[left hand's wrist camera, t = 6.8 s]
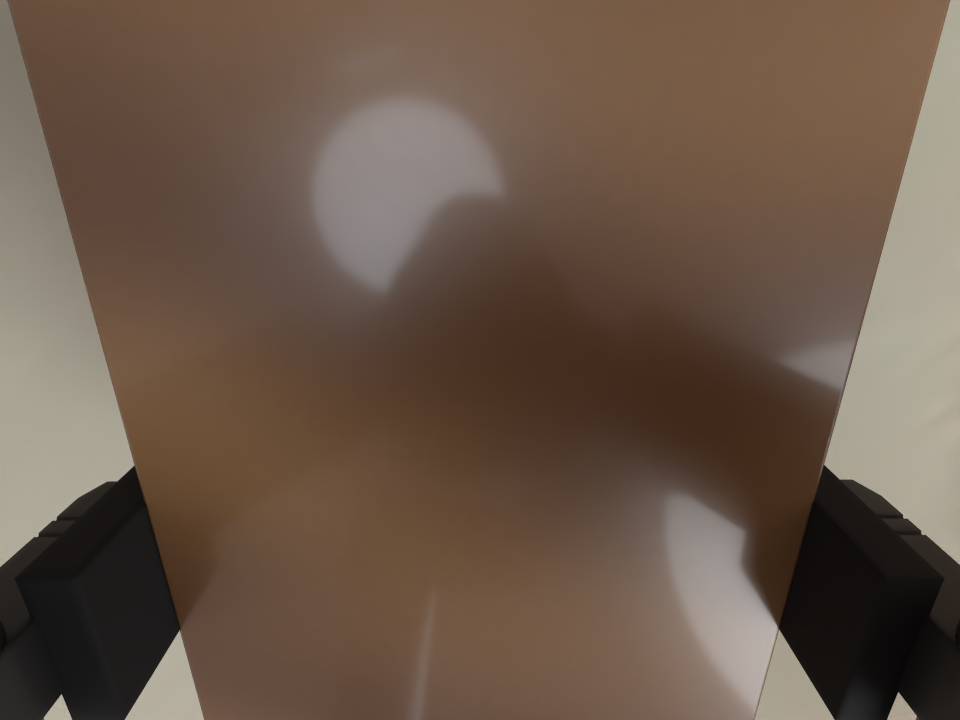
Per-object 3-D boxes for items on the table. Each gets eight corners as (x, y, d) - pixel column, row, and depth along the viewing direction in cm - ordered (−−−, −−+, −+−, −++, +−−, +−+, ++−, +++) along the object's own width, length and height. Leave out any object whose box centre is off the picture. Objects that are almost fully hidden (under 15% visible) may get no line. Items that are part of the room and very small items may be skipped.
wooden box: (227, -239, 11) (-272, -999, 4) (730, -237, 11) (1223, -987, 4) (320, 482, 18) (204, 729, 10) (638, 482, 18) (754, 727, 10)
